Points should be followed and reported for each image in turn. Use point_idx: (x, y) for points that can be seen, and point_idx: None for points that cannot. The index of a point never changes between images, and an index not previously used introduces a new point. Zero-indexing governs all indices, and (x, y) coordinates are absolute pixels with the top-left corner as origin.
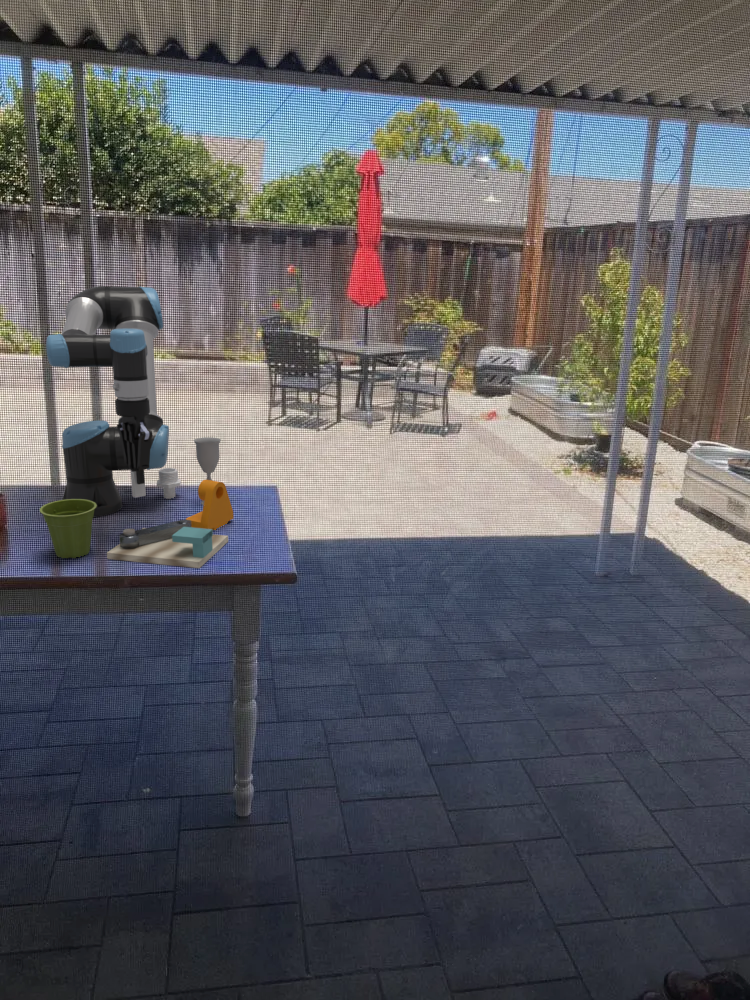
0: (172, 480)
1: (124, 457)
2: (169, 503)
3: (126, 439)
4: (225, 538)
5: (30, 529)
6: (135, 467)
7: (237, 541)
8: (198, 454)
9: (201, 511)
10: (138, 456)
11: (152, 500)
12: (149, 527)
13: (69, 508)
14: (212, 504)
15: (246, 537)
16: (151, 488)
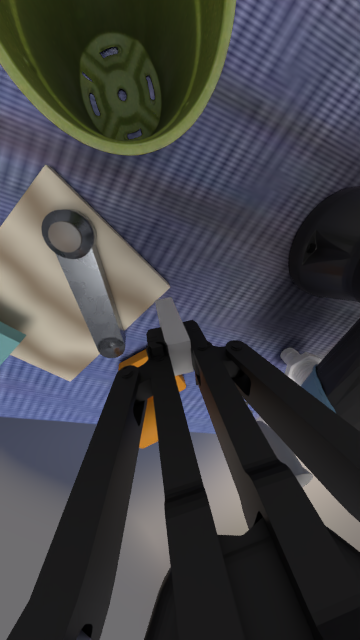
0: (295, 375)
1: (255, 358)
2: (267, 347)
3: (261, 485)
4: (60, 376)
5: (340, 64)
6: (154, 363)
7: (69, 383)
8: (275, 449)
9: (178, 375)
10: (117, 424)
11: (294, 333)
12: (105, 289)
13: (201, 68)
14: None
15: (82, 394)
16: (333, 343)
